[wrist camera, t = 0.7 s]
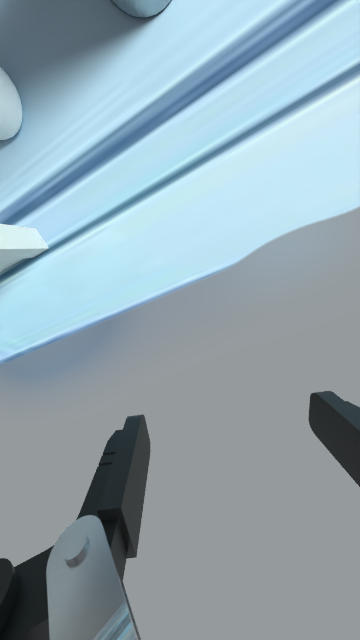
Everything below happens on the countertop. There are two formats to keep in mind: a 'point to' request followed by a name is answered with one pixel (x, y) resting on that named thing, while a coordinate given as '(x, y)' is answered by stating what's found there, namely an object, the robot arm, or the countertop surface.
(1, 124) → the water bottle
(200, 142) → the countertop surface
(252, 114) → the countertop surface
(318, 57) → the countertop surface
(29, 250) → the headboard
